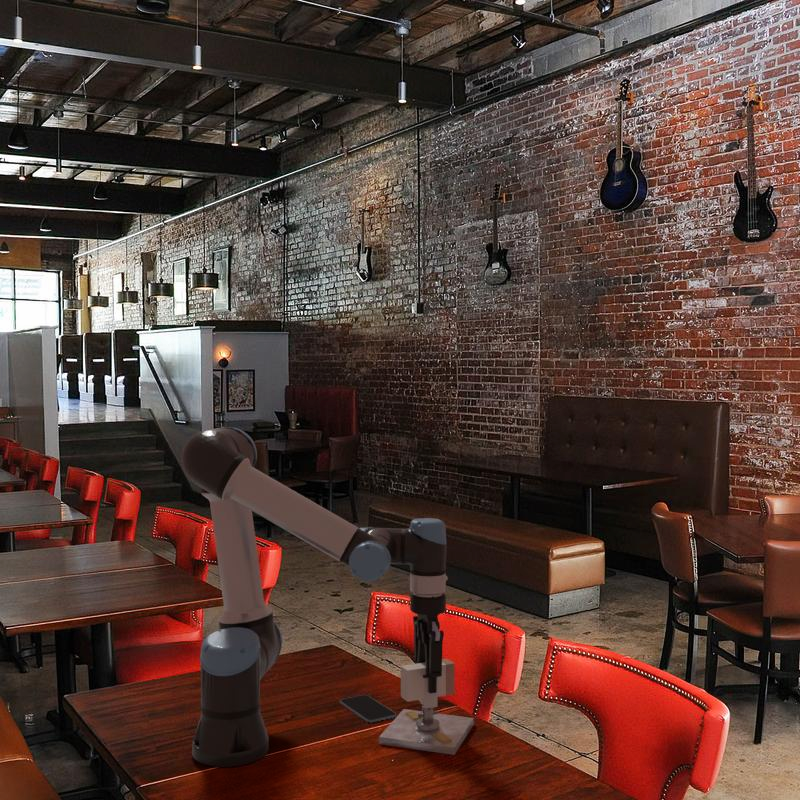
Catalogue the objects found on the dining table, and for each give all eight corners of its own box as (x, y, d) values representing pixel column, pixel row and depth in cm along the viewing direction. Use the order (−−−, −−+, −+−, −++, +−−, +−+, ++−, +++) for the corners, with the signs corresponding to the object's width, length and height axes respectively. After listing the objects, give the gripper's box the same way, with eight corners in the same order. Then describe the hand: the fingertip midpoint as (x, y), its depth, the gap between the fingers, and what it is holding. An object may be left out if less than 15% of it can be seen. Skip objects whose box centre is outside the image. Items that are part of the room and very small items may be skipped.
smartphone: (366, 694, 208) (398, 714, 195) (366, 697, 208) (398, 718, 195) (338, 699, 204) (368, 721, 191) (338, 703, 204) (368, 725, 191)
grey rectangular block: (407, 709, 182) (407, 670, 181) (400, 703, 185) (400, 665, 185) (454, 701, 186) (454, 663, 186) (447, 695, 189) (447, 658, 189)
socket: (454, 754, 176) (454, 722, 175) (379, 744, 181) (379, 712, 180) (473, 724, 191) (473, 695, 190) (403, 715, 196) (403, 686, 196)
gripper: (458, 601, 178) (457, 716, 179) (432, 582, 194) (431, 688, 195) (423, 603, 176) (422, 720, 176) (399, 584, 192) (399, 691, 192)
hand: (427, 703), depth 185 cm, fingers closed on grey rectangular block, 4 cm apart
